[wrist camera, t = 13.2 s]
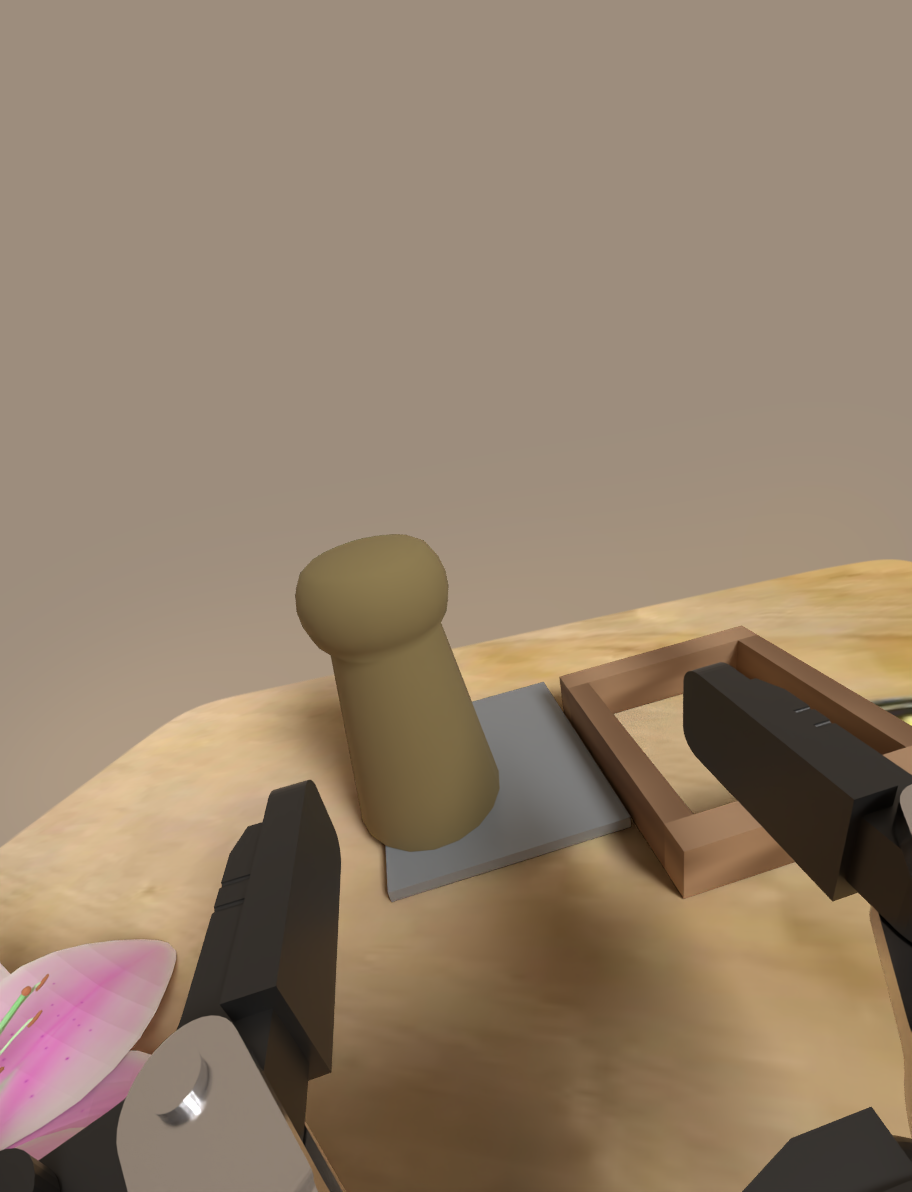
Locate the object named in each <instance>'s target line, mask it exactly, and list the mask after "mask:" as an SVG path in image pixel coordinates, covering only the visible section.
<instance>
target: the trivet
mask: <svg viewBox="0 0 912 1192" xmlns="http://www.w3.org/2000/svg"><path fill="white" fill-rule="evenodd" d="M472 704H473V706H474V709H475V711H476V714H477V716H478V719H479V722H480V724H481V727H482V729H483V732H484V734H485V737H486V740H487V742H488V745H489V747H490V750H491V752H492V755H493V758H494V760H495V763H496V765H497V768H498V770H499V786H500V789H499V792H498V795H497V798H496V801H495V804H494V807H493V808H492V810H491V811H490V812H489V814H488V815H487V816H486V817H485V819H484V820H483V821H482V823H481V824H480V825H479V826H478V827H477V828H475V829H474V830H472V831H471V832H470V833H468V834H467V835H466V836H464V837H463V838H462V839H460V840H459V841H456V842H453V843H451V844H448V845H446V846H443V847H440V848H438V849H435V850H425V851H414V852H408V851H404V850H400V849H395V848H391V847H387V846H386V845H385V846H386V867H387V887H388V895H389V897H390V900H391V902H393V901H396V900H399V899H403V898H406V897H409V896H412V895H415V894H418V893H422V892H425V891H428V890H431V889H434V888H438V887H441V886H444V885H447V884H450V883H453V882H457V881H460V880H463V879H466V878H469V877H473V876H476V875H479V874H482V873H485V872H488V871H492V870H495V869H498V868H501V867H504V866H508V865H511V864H514V863H517V862H520V861H523V860H527V859H530V858H533V857H536V856H539V855H543V854H546V853H549V852H552V851H555V850H558V849H562V848H565V847H568V846H571V845H574V844H578V843H581V842H584V841H587V840H590V839H593V838H597V837H600V836H603V835H606V834H609V833H613V832H616V831H619V830H622V829H625V828H628V827H631V817H630V815H629V814H628V812H627V811H626V809H625V808H624V806H623V804H622V803H621V801H620V800H619V798H618V797H617V795H616V794H615V792H614V790H613V789H612V787H611V786H610V784H609V783H608V781H607V780H606V778H605V776H604V775H603V773H602V772H601V770H600V769H599V767H598V766H597V764H596V762H595V761H594V759H593V758H592V756H591V755H590V753H589V752H588V750H587V748H586V747H585V745H584V744H583V742H582V741H581V739H580V738H579V736H578V734H577V733H576V731H575V730H574V728H573V727H572V725H571V724H570V722H569V720H568V719H567V717H566V716H565V714H564V713H563V711H562V710H561V708H560V706H559V705H558V703H557V702H556V700H555V699H554V697H553V696H552V694H551V692H550V691H549V689H548V688H547V686H546V685H545V683H544V682H541V683H538V684H534V685H530V686H527V687H523V688H520V689H516V690H513V691H509V692H506V693H502V694H498V695H495V696H491V697H488V698H484V699H481V700H477V701H473V702H472Z"/></svg>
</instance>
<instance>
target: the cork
mask: <svg viewBox="0 0 912 1192" xmlns="http://www.w3.org/2000/svg"><path fill="white" fill-rule="evenodd" d="M295 598H296V609H297V614H298V616H299V619H300V622H301V624H302V627H303V628H304V630H305V631H306V632H307V634H308V635H309V637H310V638H311V639H312V641H313V642H314V643H315V644H316V645H317V646H318V647H319V648H320V649H321V650H323V651H325V652H326V653H328V654H329V655H331V659H332V664H333V669H334V675H335V680H336V685H337V690H338V695H339V701H340V706H341V711H342V716H343V721H344V726H345V732H346V737H347V742H348V747H349V752H350V758H351V763H352V768H353V773H354V778H355V783H356V789H357V794H358V799H359V804H360V809H361V815H362V820H363V822H364V824H365V825H366V827H367V829H368V830H369V832H370V834H371V835H372V836H373V837H374V838H376V839H377V840H379V841H380V842H382V843H383V844H385V845H386V846H387V847H391V848H395V849H400V850H404V851H408V852H414V851H425V850H435V849H438V848H440V847H443V846H446V845H448V844H451V843H453V842H456V841H459V840H460V839H462V838H463V837H464V836H466V835H467V834H468V833H470V832H471V831H472V830H474V829H475V828H477V827H478V826H479V825H480V824H481V823H482V821H483V820H484V819H485V817H486V816H487V815H488V814H489V812H490V811H491V810H492V808H493V807H494V804H495V801H496V798H497V795H498V792H499V789H500V786H499V770H498V768H497V765H496V763H495V760H494V758H493V755H492V752H491V750H490V747H489V745H488V742H487V740H486V737H485V734H484V732H483V729H482V727H481V724H480V722H479V719H478V716H477V714H476V711H475V709H474V706H473V704H472V701H471V698H470V696H469V693H468V691H467V688H466V686H465V683H464V680H463V678H462V675H461V673H460V670H459V668H458V665H457V662H456V660H455V657H454V655H453V652H452V650H451V647H450V644H449V642H448V639H447V637H446V634H445V632H444V629H443V627H442V624H441V621H442V619H443V617H444V615H445V613H446V609H447V602H448V581H447V576H446V571H445V569H444V567H443V565H442V563H441V561H440V559H439V557H438V555H437V554H436V553H435V552H434V551H433V550H432V549H431V548H430V546H429V545H428V544H426V542H424V540H421V539H418V538H414V537H411V536H408V535H400V534H391V535H380V536H373V537H368V538H362V539H358V540H354V541H351V542H348V543H345V544H343V545H340V546H337V547H335V548H333V549H331V550H329V551H326V552H324V553H322V554H321V555H319V556H318V557H316V558H314V559H313V560H312V561H311V562H310V563H309V564H308V565H307V566H306V567H305V568H304V570H303V571H302V572H301V573H300V575H299V580H298V584H297V587H296V594H295Z"/></svg>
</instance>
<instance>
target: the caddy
mask: <svg viewBox="0 0 912 1192" xmlns="http://www.w3.org/2000/svg"><path fill="white" fill-rule="evenodd" d="M719 662H724V663H727V664H729V665H730V666H732V667H733V668H735V669H736V670H737V671H739V672H740V673H742V674H743V675H744V676H746V677H747V678H749V679H750V680H751V679H755V678H757V679H759V680H762V681H765V682H767V683H770V684H773V685H775V686H778V687H781V688H783V689H786V690H787V691H789V692H790V693H791V694H793V695H794V696H796V697H797V698H799V699H800V700H802V701H803V702H805V703H806V704H808V705H809V707H810V709H815V710H817V711H818V712H820V713H821V714H823V715H824V716H825V717H827V718H828V719H830V722H831V723H832V724H833V723H836V724H837V725H839V726H840V727H842V728H843V729H845V730H846V731H848V732H849V733H851V734H852V735H854V736H855V737H857V738H858V739H860V740H861V741H862V742H864V743H865V744H867V745H868V746H870V747H871V748H873V749H874V750H876V751H877V752H879V753H880V754H882V755H883V756H885V757H886V758H888V759H889V760H891V761H892V762H894V763H895V764H896V765H898V766H899V767H901V768H902V769H904V770H905V771H907V772H908V773H910V774H911V775H912V726H911V725H909V724H907V723H906V722H904V721H902V720H900V719H899V718H897V717H895V716H894V715H892V714H890V713H889V712H887V711H885V710H884V709H882V708H880V707H878V706H877V705H875V704H873V703H872V702H870V701H868V700H867V699H865V698H863V697H862V696H860V695H858V694H857V693H855V692H853V691H851V690H850V689H848V688H846V687H845V686H843V685H841V684H840V683H838V682H836V681H835V680H833V679H831V678H829V677H828V676H826V675H824V674H823V673H821V672H819V671H818V670H816V669H814V668H813V667H811V666H809V665H807V664H806V663H804V662H802V661H801V660H799V659H797V658H796V657H794V656H792V655H791V654H789V653H787V652H786V651H784V650H782V649H780V648H779V647H777V646H775V645H774V644H772V643H770V642H769V641H767V640H765V639H764V638H762V637H760V636H758V635H757V634H755V633H753V632H752V631H750V630H748V629H747V628H745V627H743V626H739V627H735V628H732V629H728V630H724V631H721V632H717V633H714V634H710V635H707V636H703V637H699V638H696V639H692V640H689V641H685V642H682V643H678V644H674V645H671V646H667V647H664V648H660V649H657V650H653V651H649V652H646V653H642V654H639V655H635V656H632V657H628V658H625V659H621V660H617V661H614V662H610V663H607V664H603V665H600V666H596V667H592V668H589V669H585V670H582V671H578V672H575V673H571V674H567V675H564V676H560V685H561V693H562V701H563V709H564V714H565V715H566V717H567V718H568V720H569V721H570V723H571V725H572V726H573V728H574V729H575V731H576V732H577V734H578V735H579V737H580V738H581V740H582V742H583V743H584V745H585V746H586V748H587V749H588V751H589V752H590V754H591V756H592V757H593V759H594V760H595V762H596V763H597V765H598V766H599V768H600V770H601V771H602V773H603V774H604V776H605V777H606V779H607V780H608V782H609V783H610V785H611V787H612V788H613V790H614V791H615V793H616V794H617V796H618V797H619V799H620V801H621V802H622V804H623V805H624V807H625V808H626V810H627V811H628V813H629V815H630V816H631V818H632V819H633V821H634V822H635V824H636V825H637V827H638V829H639V830H640V832H641V833H642V835H643V836H644V838H645V839H646V841H647V842H648V844H649V846H650V847H651V849H652V850H653V852H654V853H655V855H656V856H657V858H658V860H659V861H660V863H661V864H662V866H663V867H664V869H665V870H666V872H667V874H668V875H669V877H670V878H671V880H672V881H673V883H674V884H675V886H676V887H677V889H678V891H679V892H680V894H681V895H682V897H683V898H684V899H685V898H688V897H691V896H694V895H697V894H700V893H703V892H706V891H709V890H712V889H715V888H718V887H721V886H724V885H727V884H730V883H733V882H736V881H739V880H742V879H745V878H748V877H751V876H754V875H757V874H760V873H763V872H766V871H769V870H772V869H775V868H778V867H781V866H784V865H787V864H790V863H793V862H795V861H794V860H793V859H792V858H791V857H790V856H789V855H788V854H787V853H786V852H785V850H784V849H783V848H782V847H781V846H780V845H779V844H778V843H777V842H776V841H775V840H774V839H773V838H772V837H771V836H770V835H769V833H768V832H767V831H766V830H765V829H764V828H763V827H762V826H761V825H760V824H759V823H758V822H757V821H756V820H755V819H754V818H753V817H752V815H751V814H750V813H749V812H748V811H747V810H746V809H745V808H744V807H743V806H742V805H741V804H740V803H739V802H738V801H735V802H732V803H728V804H725V805H722V806H719V807H716V808H713V809H709V810H706V811H703V812H700V813H697V814H693V813H692V812H691V811H690V809H689V808H688V807H687V806H686V804H685V803H684V802H683V801H682V799H681V798H680V797H679V796H678V794H677V793H676V792H675V791H674V789H673V788H672V787H671V786H670V784H669V783H668V782H667V781H666V779H665V778H664V777H663V776H662V774H661V773H660V772H659V771H658V769H657V768H656V767H655V766H654V764H653V763H652V762H651V761H650V759H649V758H648V757H647V756H646V754H645V753H644V752H643V751H642V749H641V748H640V747H639V746H638V744H637V743H636V742H635V741H634V739H633V738H632V737H631V736H630V734H629V733H628V732H627V731H626V729H625V728H624V727H623V726H622V724H621V723H620V722H619V721H618V719H617V718H616V717H615V716H614V713H617V712H620V711H624V710H627V709H631V708H634V707H638V706H641V705H645V704H648V703H651V702H655V701H658V700H662V699H665V698H669V697H672V696H675V695H679V694H682V693H683V680H684V676H685V674H686V673H687V672H688V671H691V670H695V669H698V668H702V667H705V666H709V665H712V664H716V663H719Z"/></svg>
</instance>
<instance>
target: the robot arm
mask: <svg viewBox="0 0 912 1192" xmlns="http://www.w3.org/2000/svg"><path fill="white" fill-rule="evenodd" d="M683 730H684V734H685V738H686V741H687V743H688V745H689V747H690V749H691V750H692V752H693V753H694V755H695V756H696V757H697V758H698V759H699V760H700V761H701V763H702V764H703V765H704V766H705V767H706V768H707V769H708V770H709V771H710V772H711V773H712V774H713V775H714V776H715V777H716V778H717V779H718V781H719V782H720V783H721V784H722V785H723V786H724V787H725V788H726V789H727V790H728V791H729V792H730V793H731V794H732V795H733V796H734V797H735V799H736V800H737V801H738V802H739V803H740V804H741V805H742V806H743V807H744V808H745V809H746V810H747V811H748V812H749V813H750V814H751V815H752V817H753V818H754V819H755V820H756V821H757V822H758V823H759V824H760V825H761V826H762V827H763V828H764V829H765V830H766V831H767V832H768V833H769V835H770V836H771V837H772V838H773V839H774V840H775V841H776V842H777V843H778V844H779V845H780V846H781V847H782V848H783V849H784V850H785V852H786V853H787V854H788V855H789V856H790V857H791V858H792V859H793V860H794V861H795V862H796V863H797V864H798V865H799V866H800V867H801V868H802V870H803V871H804V872H805V873H806V874H807V875H808V876H809V877H810V878H811V879H812V880H813V881H814V882H815V883H816V884H817V885H818V886H819V888H820V889H821V890H822V891H823V892H824V893H825V894H826V895H827V896H828V897H829V898H830V899H831V900H832V901H835V900H838V899H841V898H844V897H847V896H849V895H852V894H855V893H859V894H860V895H861V896H862V897H863V898H864V899H865V900H866V901H867V902H868V903H869V904H870V905H871V907H870V914H869V915H870V922H871V926H872V930H873V934H874V938H875V941H876V945H877V949H878V953H879V957H880V961H881V965H882V969H883V973H884V977H885V981H886V985H887V989H888V993H889V997H890V1001H891V1004H892V1008H893V1012H894V1016H895V1020H896V1024H897V1028H898V1032H899V1036H900V1040H901V1044H902V1050H903V1056H904V1069H905V1073H904V1091H905V1103H906V1111H907V1117H908V1123H909V1128H910V1133H911V1137H912V775H911V774H910V773H908V772H907V771H905V770H904V769H902V768H901V767H899V766H898V765H896V764H895V763H894V762H892V761H891V760H889V759H888V758H886V757H885V756H883V755H882V754H880V753H879V752H877V751H876V750H874V749H873V748H871V747H870V746H868V745H867V744H865V743H864V742H862V741H861V740H860V739H858V738H857V737H855V736H854V735H852V734H851V733H849V732H848V731H846V730H845V729H843V728H842V727H840V726H839V725H837V724H836V723H833V724H832V723H831V722H830V719H828V718H827V717H825V716H824V715H823V714H821V713H820V712H818V711H817V710H815V709H810V707H809V705H808V704H806V703H805V702H803V701H802V700H800V699H799V698H797V697H796V696H794V695H793V694H791V693H790V692H789V691H787V690H786V689H783V688H781V687H778V686H775V685H773V684H770V683H767V682H765V681H762V680H759V679H757V678H755V679H751V680H750V679H749V678H747V677H746V676H744V675H743V674H742V673H740V672H739V671H737V670H736V669H735V668H733V667H732V666H730V665H729V664H727V663H724V662H719V663H716V664H712V665H709V666H705V667H702V668H698V669H695V670H691V671H688V672H687V673H686V674H685V676H684V680H683ZM340 874H341V855H340V847H339V842H338V838H337V834H336V831H335V829H334V826H333V824H332V822H331V820H330V817H329V815H328V813H327V810H326V808H325V806H324V804H323V801H322V799H321V797H320V794H319V792H318V790H317V788H316V785H315V784H314V782H313V781H312V780H307V781H303V782H300V783H297V784H293V785H290V786H286V787H283V788H279V789H276V790H273V791H272V792H271V793H270V795H269V798H268V802H267V806H266V811H265V815H264V819H263V822H262V823H258V824H255V825H252V826H248V827H247V829H246V830H245V832H244V833H243V835H242V836H241V838H240V839H239V841H238V842H237V844H236V845H235V847H234V848H233V850H232V851H231V853H230V855H229V858H228V861H227V865H226V868H225V872H224V875H223V878H222V882H221V883H222V888H220V889H219V892H218V895H217V899H216V902H215V906H214V909H215V912H214V913H213V914H212V916H211V919H210V923H209V926H208V929H207V933H206V936H205V940H204V943H203V946H202V950H201V953H200V957H199V960H198V963H197V967H196V970H195V974H194V977H193V980H192V984H191V987H190V991H189V994H188V997H187V1001H186V1004H185V1008H184V1011H183V1014H182V1017H181V1020H180V1023H179V1026H178V1028H177V1030H176V1031H175V1032H174V1033H173V1034H172V1035H170V1036H169V1037H168V1038H167V1039H166V1040H165V1041H164V1042H163V1043H162V1044H161V1045H160V1046H159V1047H158V1048H157V1049H156V1050H155V1051H154V1053H153V1054H152V1055H151V1056H150V1058H149V1059H148V1060H147V1062H146V1063H145V1064H144V1066H143V1067H142V1069H141V1070H140V1072H139V1073H138V1075H137V1077H136V1078H135V1080H134V1082H133V1084H132V1086H131V1088H130V1090H129V1092H128V1094H127V1097H126V1098H125V1099H124V1100H122V1101H121V1102H120V1103H119V1104H117V1105H116V1106H115V1107H113V1108H112V1109H111V1110H109V1111H108V1112H107V1113H105V1114H104V1115H102V1116H101V1117H100V1118H98V1119H97V1120H95V1121H94V1122H92V1123H91V1124H90V1125H88V1126H87V1127H85V1128H84V1129H82V1130H81V1131H80V1132H78V1133H77V1134H75V1135H74V1136H73V1137H71V1138H70V1139H68V1140H67V1141H65V1142H64V1143H63V1144H61V1145H60V1146H58V1147H57V1148H55V1149H54V1150H53V1151H51V1152H50V1153H48V1154H47V1155H46V1156H44V1157H43V1158H41V1159H40V1160H37V1159H35V1158H34V1157H32V1156H31V1155H30V1154H28V1153H27V1152H25V1151H24V1150H21V1149H18V1148H10V1149H4V1150H1V1151H0V1192H346V1191H345V1189H344V1187H343V1186H342V1184H341V1182H340V1180H339V1179H338V1177H337V1175H336V1173H335V1172H334V1170H333V1168H332V1166H331V1165H330V1163H329V1161H328V1159H327V1158H326V1156H325V1154H324V1152H323V1151H322V1149H321V1147H320V1145H319V1144H318V1142H317V1140H316V1138H315V1137H314V1135H313V1133H312V1131H311V1130H310V1128H309V1126H308V1124H307V1122H306V1121H305V1112H306V1099H307V1087H308V1080H311V1079H314V1078H317V1077H320V1076H323V1075H326V1074H328V1073H331V1069H332V1047H333V1026H334V1004H335V982H336V961H337V939H338V917H339V896H340ZM742 1192H912V1139H911V1138H906V1137H900V1136H895V1135H892V1134H891V1133H890V1132H889V1130H888V1129H887V1128H886V1126H885V1125H884V1123H883V1122H882V1121H881V1119H880V1118H879V1117H878V1115H877V1114H876V1112H875V1111H874V1110H873V1108H872V1107H869V1108H867V1109H864V1110H862V1111H859V1112H857V1113H854V1114H852V1115H849V1116H846V1117H844V1118H841V1119H839V1120H836V1121H834V1122H831V1123H829V1124H826V1125H824V1126H821V1127H819V1128H816V1129H814V1130H811V1131H809V1132H806V1133H803V1134H801V1135H798V1136H796V1137H793V1138H791V1139H790V1140H789V1141H788V1142H787V1143H786V1144H785V1145H784V1147H783V1148H782V1149H781V1150H780V1151H779V1152H778V1153H777V1154H776V1155H775V1156H774V1158H773V1159H772V1160H771V1161H770V1162H769V1163H768V1164H767V1165H766V1166H765V1167H764V1168H763V1170H762V1171H761V1172H760V1173H759V1174H758V1175H757V1176H756V1177H755V1178H754V1179H753V1180H752V1182H751V1183H750V1184H749V1185H748V1186H747V1187H746V1188H745V1189H744V1190H743V1191H742Z"/></svg>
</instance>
